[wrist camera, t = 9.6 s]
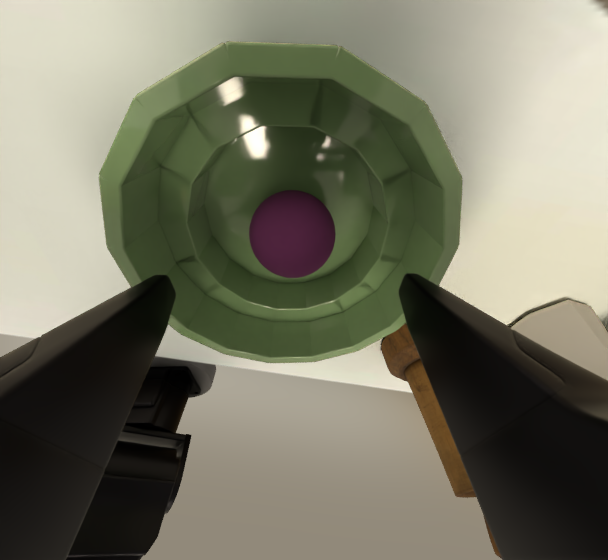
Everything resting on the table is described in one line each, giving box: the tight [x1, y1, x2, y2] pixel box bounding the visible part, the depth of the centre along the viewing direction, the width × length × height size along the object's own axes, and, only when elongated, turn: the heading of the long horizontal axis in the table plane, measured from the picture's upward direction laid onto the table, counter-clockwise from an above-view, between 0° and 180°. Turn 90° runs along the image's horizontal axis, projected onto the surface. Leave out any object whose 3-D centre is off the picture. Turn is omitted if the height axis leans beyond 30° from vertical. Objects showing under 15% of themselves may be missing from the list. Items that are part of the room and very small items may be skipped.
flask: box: [511, 300, 608, 380], centre depth 18 cm, size 7×7×10 cm
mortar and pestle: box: [381, 324, 502, 558], centre depth 15 cm, size 7×6×18 cm
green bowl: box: [99, 41, 462, 363], centre depth 12 cm, size 13×13×6 cm
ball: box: [249, 190, 336, 278], centre depth 12 cm, size 4×4×4 cm
